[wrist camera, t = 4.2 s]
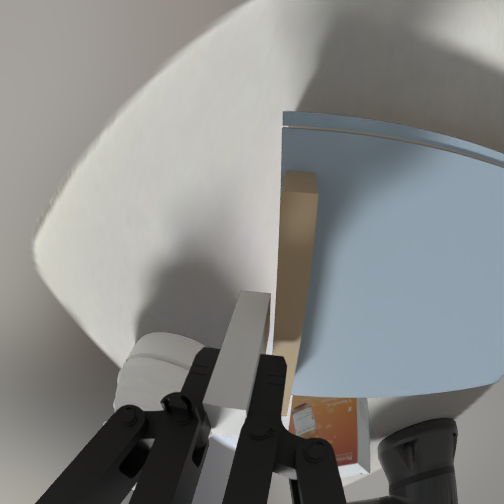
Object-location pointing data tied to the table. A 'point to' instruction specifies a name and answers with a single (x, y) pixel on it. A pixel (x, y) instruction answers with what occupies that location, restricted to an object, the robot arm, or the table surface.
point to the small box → (335, 428)
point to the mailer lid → (387, 260)
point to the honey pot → (155, 370)
